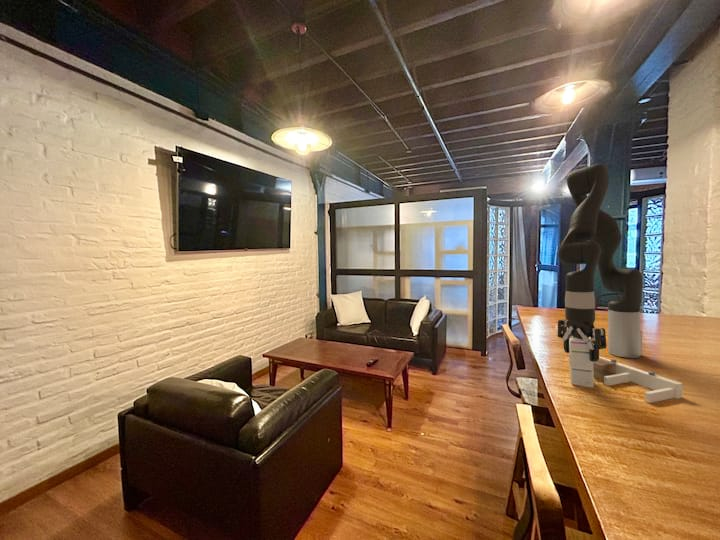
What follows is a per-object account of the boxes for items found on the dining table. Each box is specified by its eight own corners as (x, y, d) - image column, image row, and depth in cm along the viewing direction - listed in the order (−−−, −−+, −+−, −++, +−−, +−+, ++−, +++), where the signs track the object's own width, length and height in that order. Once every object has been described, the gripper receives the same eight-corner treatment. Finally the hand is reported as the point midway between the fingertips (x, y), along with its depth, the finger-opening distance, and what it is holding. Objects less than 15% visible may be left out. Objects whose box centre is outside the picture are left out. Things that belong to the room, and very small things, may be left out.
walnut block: (598, 371, 100) (598, 357, 100) (615, 378, 94) (615, 363, 94) (585, 374, 99) (585, 359, 98) (601, 380, 93) (601, 365, 93)
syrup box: (594, 388, 89) (593, 340, 88) (570, 384, 92) (569, 338, 91) (592, 380, 94) (591, 335, 93) (569, 377, 97) (568, 334, 96)
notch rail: (598, 367, 103) (598, 353, 103) (682, 397, 81) (682, 380, 81) (572, 371, 101) (572, 357, 101) (651, 403, 79) (651, 386, 79)
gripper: (613, 308, 85) (613, 363, 86) (569, 301, 99) (570, 348, 100) (592, 310, 84) (592, 366, 85) (550, 303, 98) (551, 351, 99)
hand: (580, 356), depth 93 cm, fingers open, 8 cm apart
